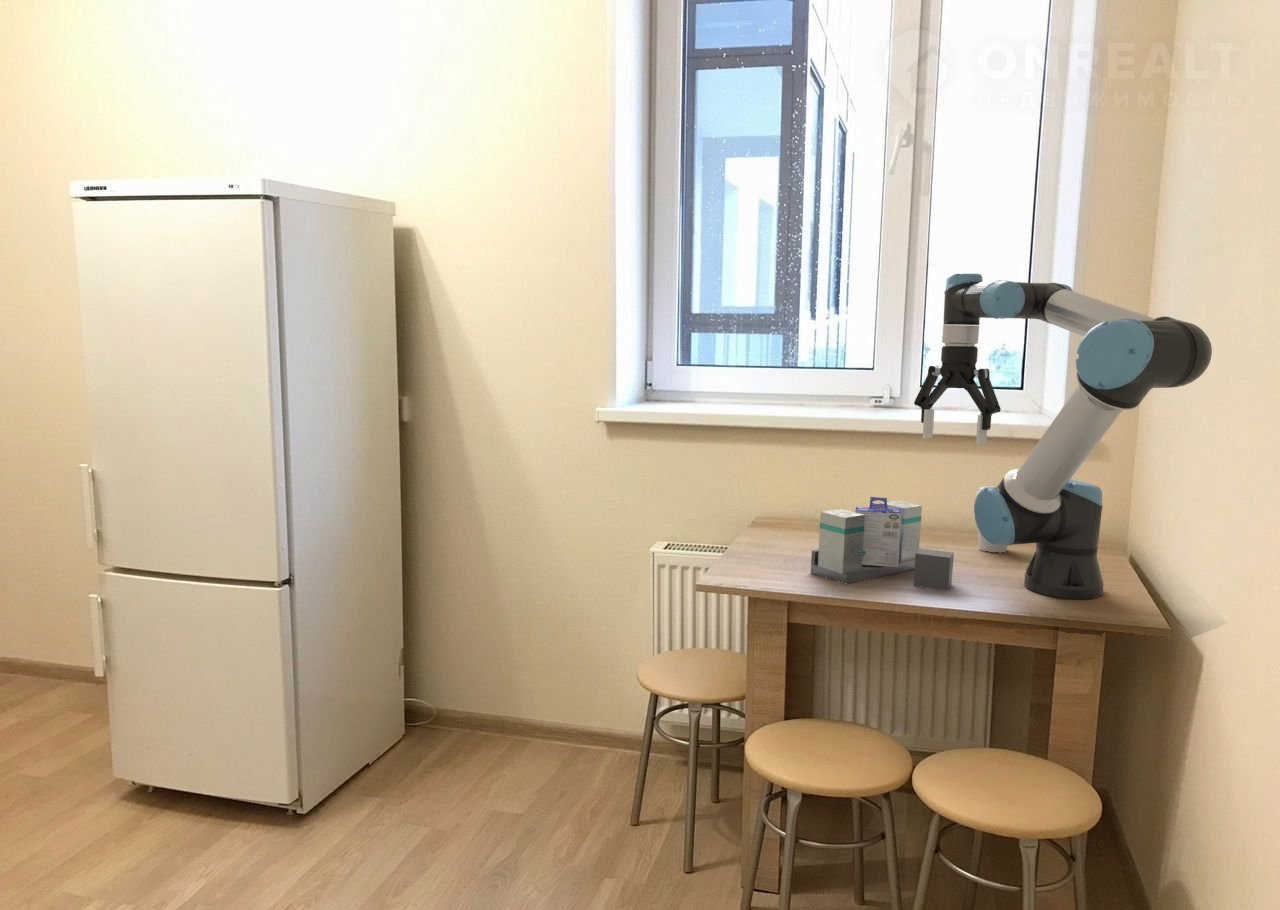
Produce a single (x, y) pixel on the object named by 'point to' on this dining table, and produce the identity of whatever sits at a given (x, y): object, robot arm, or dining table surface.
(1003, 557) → the dining table surface
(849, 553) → the grey stand with boxes
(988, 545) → the coffee cup
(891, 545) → the ink cartridge box
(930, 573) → the block
